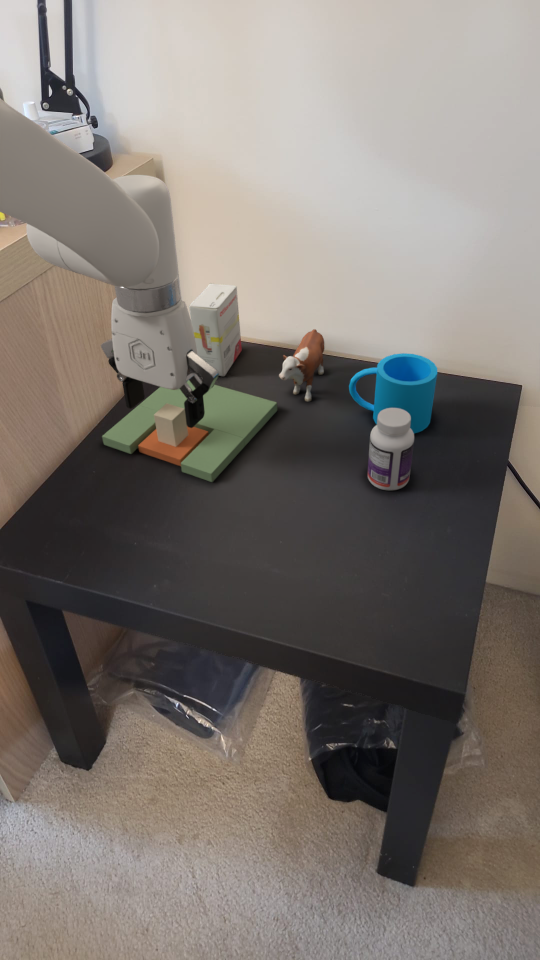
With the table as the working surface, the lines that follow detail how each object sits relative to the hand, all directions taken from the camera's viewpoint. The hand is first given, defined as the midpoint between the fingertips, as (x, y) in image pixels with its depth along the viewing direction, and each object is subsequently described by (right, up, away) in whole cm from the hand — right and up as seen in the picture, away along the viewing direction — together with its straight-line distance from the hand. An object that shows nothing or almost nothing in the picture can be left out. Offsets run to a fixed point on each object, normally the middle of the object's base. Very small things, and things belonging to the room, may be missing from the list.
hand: (165, 412), depth 91 cm
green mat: (+3, -1, +7) cm, 8 cm away
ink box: (+6, +10, +21) cm, 24 cm away
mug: (+31, 0, +8) cm, 32 cm away
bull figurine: (+19, +5, +14) cm, 24 cm away
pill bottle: (+29, -9, -2) cm, 31 cm away
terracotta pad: (+1, -4, +4) cm, 6 cm away
